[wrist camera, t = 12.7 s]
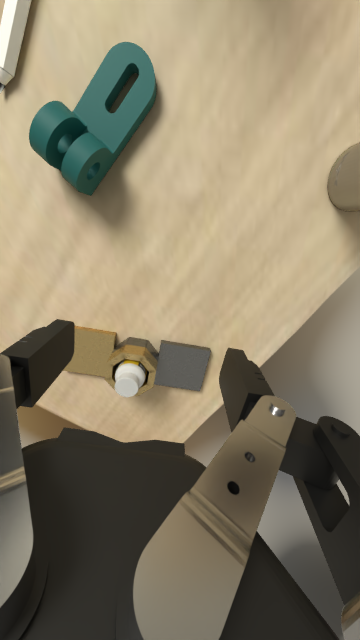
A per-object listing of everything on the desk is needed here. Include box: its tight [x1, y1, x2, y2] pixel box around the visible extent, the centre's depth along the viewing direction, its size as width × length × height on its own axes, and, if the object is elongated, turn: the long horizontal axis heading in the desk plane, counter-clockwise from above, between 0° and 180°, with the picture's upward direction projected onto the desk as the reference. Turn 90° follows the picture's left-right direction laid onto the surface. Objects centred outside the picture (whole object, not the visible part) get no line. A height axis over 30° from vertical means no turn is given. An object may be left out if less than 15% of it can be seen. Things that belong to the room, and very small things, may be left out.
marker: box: [0, 0, 32, 93], centre depth 28 cm, size 3×2×16 cm
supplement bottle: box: [115, 359, 147, 397], centre depth 42 cm, size 5×5×10 cm
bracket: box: [29, 42, 156, 196], centre depth 29 cm, size 18×7×8 cm, turn 137°
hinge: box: [63, 326, 211, 396], centre depth 44 cm, size 29×10×6 cm, turn 80°
